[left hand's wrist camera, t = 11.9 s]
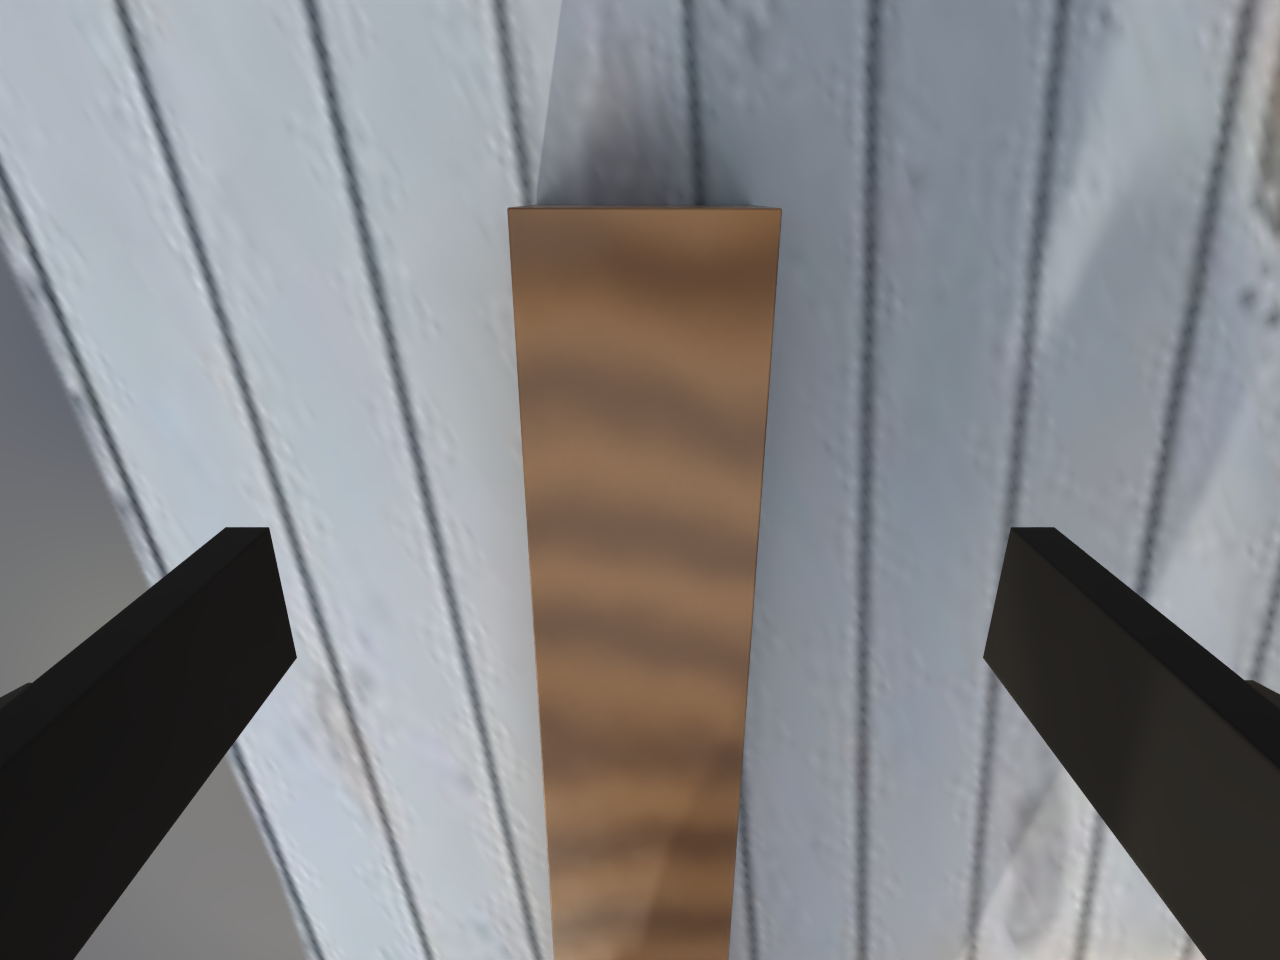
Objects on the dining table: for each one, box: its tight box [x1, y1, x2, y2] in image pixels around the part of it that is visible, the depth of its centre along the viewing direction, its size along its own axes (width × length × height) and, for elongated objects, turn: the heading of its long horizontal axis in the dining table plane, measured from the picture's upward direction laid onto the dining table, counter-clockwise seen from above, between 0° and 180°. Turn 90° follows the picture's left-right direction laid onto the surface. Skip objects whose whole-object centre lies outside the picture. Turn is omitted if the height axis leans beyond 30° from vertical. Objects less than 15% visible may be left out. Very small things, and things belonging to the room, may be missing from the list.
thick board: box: [507, 205, 782, 960], centre depth 44 cm, size 75×10×7 cm, turn 0°
